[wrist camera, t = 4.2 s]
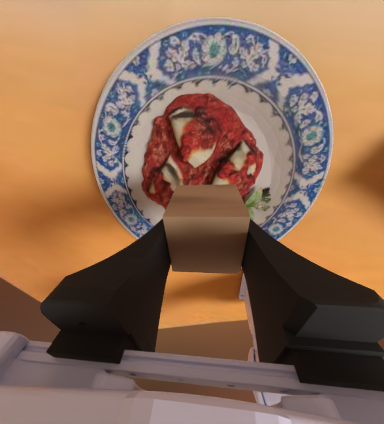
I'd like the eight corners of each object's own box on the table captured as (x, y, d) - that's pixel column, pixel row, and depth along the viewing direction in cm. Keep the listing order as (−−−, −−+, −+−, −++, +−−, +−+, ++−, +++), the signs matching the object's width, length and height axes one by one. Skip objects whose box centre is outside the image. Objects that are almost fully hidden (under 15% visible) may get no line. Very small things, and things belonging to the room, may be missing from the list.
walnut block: (230, 230, 13) (239, 273, 10) (181, 230, 14) (172, 271, 10) (235, 184, 11) (250, 216, 7) (176, 185, 12) (162, 216, 8)
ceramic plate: (77, 192, 21) (59, 201, 19) (183, -88, 9) (174, -164, 7) (210, 272, 28) (210, 287, 26) (364, 169, 16) (393, 177, 14)
